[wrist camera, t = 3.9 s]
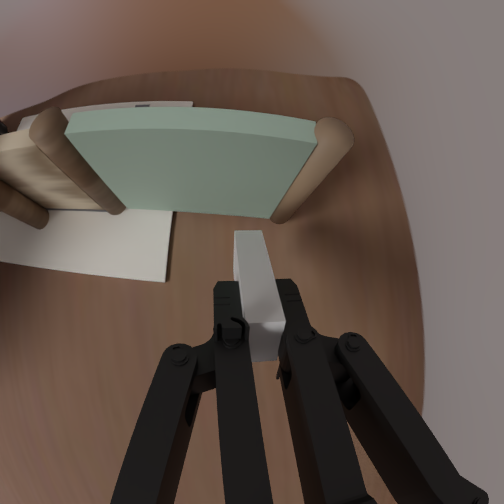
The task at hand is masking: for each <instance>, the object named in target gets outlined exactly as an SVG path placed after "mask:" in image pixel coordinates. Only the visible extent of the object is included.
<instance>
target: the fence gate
mask: <svg viewBox="0 0 504 504" xmlns="http://www.w3.org/2000/svg"><path fill="white" fill-rule="evenodd" d="M64 134H65V135H66V137H67V138H68V139H69V140H70V142H71V143H72V144H73V145H74V147H75V148H76V149H77V150H78V152H79V153H80V154H81V155H82V156H83V158H84V159H85V160H86V161H87V162H88V164H89V165H90V166H91V167H92V168H93V170H94V171H95V172H96V173H97V174H98V175H99V177H100V178H101V179H102V180H103V181H104V182H105V184H106V185H107V186H108V187H109V188H110V189H111V190H112V192H113V193H114V194H115V195H116V196H117V197H118V198H119V199H120V201H121V202H122V203H123V204H124V205H125V206H126V207H127V208H128V209H146V210H164V211H180V212H195V213H209V214H222V215H234V216H246V217H257V218H268V219H269V218H270V220H271V221H272V222H274V223H276V224H283V223H285V222H287V221H288V220H289V218H290V217H291V216H292V215H293V214H294V213H295V212H296V210H297V209H298V208H299V207H300V206H301V205H302V204H303V202H304V201H305V200H306V199H307V198H308V197H309V196H310V195H311V193H312V192H313V191H314V190H315V189H316V188H317V186H318V185H319V184H320V183H321V182H322V181H323V180H324V178H325V177H326V176H327V175H328V174H329V173H330V172H331V170H332V169H333V168H334V167H335V166H336V165H337V164H338V162H339V161H340V160H341V159H342V158H343V157H344V155H345V154H346V153H347V152H348V151H349V150H350V149H351V147H352V146H353V144H354V135H353V133H352V131H351V129H350V128H349V127H348V126H347V125H346V124H345V123H344V122H343V121H341V120H339V119H337V118H333V117H324V118H322V119H320V120H319V121H318V122H317V124H316V122H315V121H310V120H305V119H299V118H293V117H287V116H281V115H274V114H267V113H259V112H251V111H241V110H230V109H217V108H200V107H134V108H117V109H104V110H94V111H85V112H77V113H73V114H72V116H71V118H70V121H69V123H68V126H67V128H66V131H65V133H64Z"/></svg>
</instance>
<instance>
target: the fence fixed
mask: <svg viewBox="0 0 504 504" xmlns="http://www.w3.org/2000/svg"><path fill="white" fill-rule="evenodd" d="M68 123H69V121H68V120H67V118H66V117H65V116H64V114H63V113H62V111H61V110H60V108H58V107H50V108H47V109H45V110H44V111H42V112H41V113H40V114H39V115H38V116H37V117H36V118H35V119H34V121H33V122H32V124H31V126H30V129H25V130H20V131H16V132H11V133H7V134H3V135H0V212H1V211H2V212H4V213H6V214H8V215H10V216H12V217H14V218H16V219H18V220H20V221H22V222H24V223H26V224H28V225H30V226H32V227H34V228H36V229H39V230H40V229H43V228H44V227H45V226H46V225H47V223H48V221H49V212H48V210H46V209H45V208H56V209H93V210H104V209H105V210H106V211H107V212H108V213H109V214H111V215H119V214H121V213H122V212H123V211H124V210H125V208H126V206H125V205H124V204H123V203H122V202H121V201H120V199H119V198H118V197H117V196H116V195H115V194H114V193H113V192H112V190H111V189H110V188H109V187H108V186H107V185H106V184H105V182H104V181H103V180H102V179H101V178H100V177H99V175H98V174H97V173H96V172H95V171H94V170H93V168H92V167H91V166H90V165H89V164H88V162H87V161H86V160H85V159H84V158H83V156H82V155H81V154H80V153H79V152H78V150H77V149H76V148H75V147H74V145H73V144H72V143H71V142H70V140H69V139H68V138H67V137H66V135H65V134H64V133H65V131H66V128H67V126H68Z"/></svg>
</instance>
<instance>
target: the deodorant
mask: <svg viewBox="0 0 504 504" xmlns="http://www.w3.org/2000/svg"><path fill="white" fill-rule="evenodd" d="M3 134H7V127H6V126H5V125H4V124H3V123H2V122H1V121H0V135H3Z"/></svg>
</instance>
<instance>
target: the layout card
mask: <svg viewBox="0 0 504 504" xmlns="http://www.w3.org/2000/svg"><path fill="white" fill-rule="evenodd" d="M192 106H193V101H145V102H125V103H111V104H101V105H92V106H84V107H76V108H70V109H63V110H61V111H62V113H63V114H64V116H65V117H66V118H67V120H68V121H70V118H71V116H72V114H73V113H77V112H85V111H94V110H104V109H117V108H134V107H192ZM38 115H39V114H37V115H32V116H28V117H24V118H22V120H21V122H20V125H19V127H18V129H17V131H20V130H25V129H30V126H31V124H32V122H33V121H34V119H35V118H36V117H37V116H38ZM45 209H46V210H48V212H49V221H48V223H47V225H46V226H45V227H44V228H43V229H40V230H39V229H36V228H34V227H32V226H30V225H28V224H26V223H24V222H22V221H20V220H18V219H16V218H14V217H12V216H10V215H8V214H6V213H4V212H2V211H1V212H0V261H1V262H6V263H13V264H19V265H25V266H32V267H38V268H45V269H52V270H59V271H67V272H74V273H82V274H90V275H99V276H107V277H116V278H125V279H135V280H144V281H155V282H166V270H167V260H168V250H169V241H170V232H171V224H172V217H173V211H164V210H146V209H128V208H127V207H126V208H125V210H124V211H123V212H122V213H121V214H119V215H111V214H109V213H108V212H107V211H106V210H105V209H104V210H93V209H56V208H45Z"/></svg>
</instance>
